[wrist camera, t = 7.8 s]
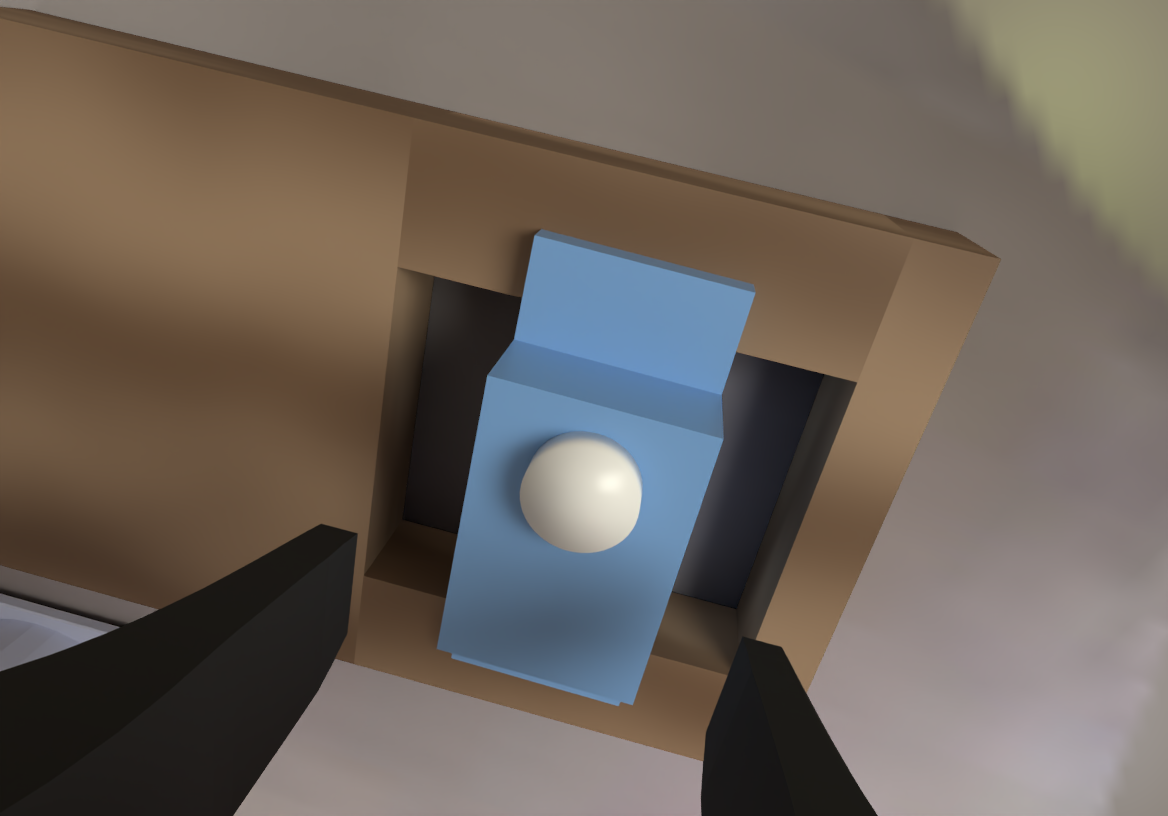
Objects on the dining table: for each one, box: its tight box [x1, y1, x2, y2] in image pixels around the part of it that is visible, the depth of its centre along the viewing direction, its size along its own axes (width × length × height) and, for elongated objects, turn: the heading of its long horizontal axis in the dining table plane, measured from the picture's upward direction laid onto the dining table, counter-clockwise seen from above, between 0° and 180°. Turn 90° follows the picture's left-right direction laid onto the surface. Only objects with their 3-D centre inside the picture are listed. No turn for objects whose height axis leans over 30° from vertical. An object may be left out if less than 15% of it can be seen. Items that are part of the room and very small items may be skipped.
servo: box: [437, 229, 755, 706], centre depth 16 cm, size 10×4×6 cm, turn 167°
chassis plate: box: [0, 7, 1001, 761], centre depth 17 cm, size 13×20×2 cm, turn 78°
